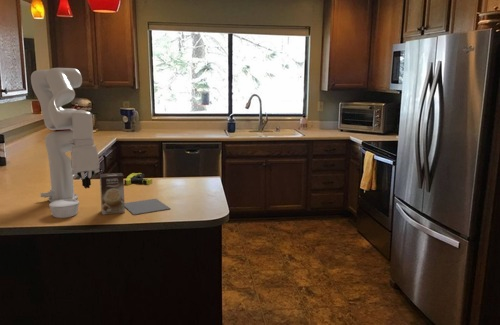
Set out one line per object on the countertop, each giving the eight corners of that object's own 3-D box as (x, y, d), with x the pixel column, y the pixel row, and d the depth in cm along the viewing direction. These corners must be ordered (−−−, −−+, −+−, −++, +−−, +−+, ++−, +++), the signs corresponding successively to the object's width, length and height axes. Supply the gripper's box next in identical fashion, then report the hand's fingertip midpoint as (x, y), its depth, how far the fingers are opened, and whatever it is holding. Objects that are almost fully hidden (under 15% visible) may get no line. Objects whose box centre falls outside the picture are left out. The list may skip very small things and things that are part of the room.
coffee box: (102, 215, 174) (100, 177, 170) (101, 210, 179) (99, 173, 176) (125, 212, 177) (123, 175, 174) (123, 208, 183) (121, 172, 180)
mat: (133, 215, 174) (133, 214, 174) (121, 204, 189) (121, 203, 189) (170, 209, 182) (170, 208, 182) (156, 199, 197) (156, 198, 197)
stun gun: (157, 172, 242) (131, 172, 242) (150, 180, 224) (121, 180, 223) (157, 177, 243) (131, 177, 243) (150, 185, 224) (122, 185, 224)
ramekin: (84, 211, 179) (83, 199, 178) (72, 219, 168) (71, 206, 167) (58, 210, 179) (57, 198, 178) (44, 218, 169) (43, 206, 168)
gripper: (64, 145, 160) (68, 192, 164) (105, 142, 168) (107, 187, 171) (61, 142, 166) (65, 188, 170) (100, 140, 174) (103, 183, 178)
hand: (86, 187), depth 171 cm, fingers closed
